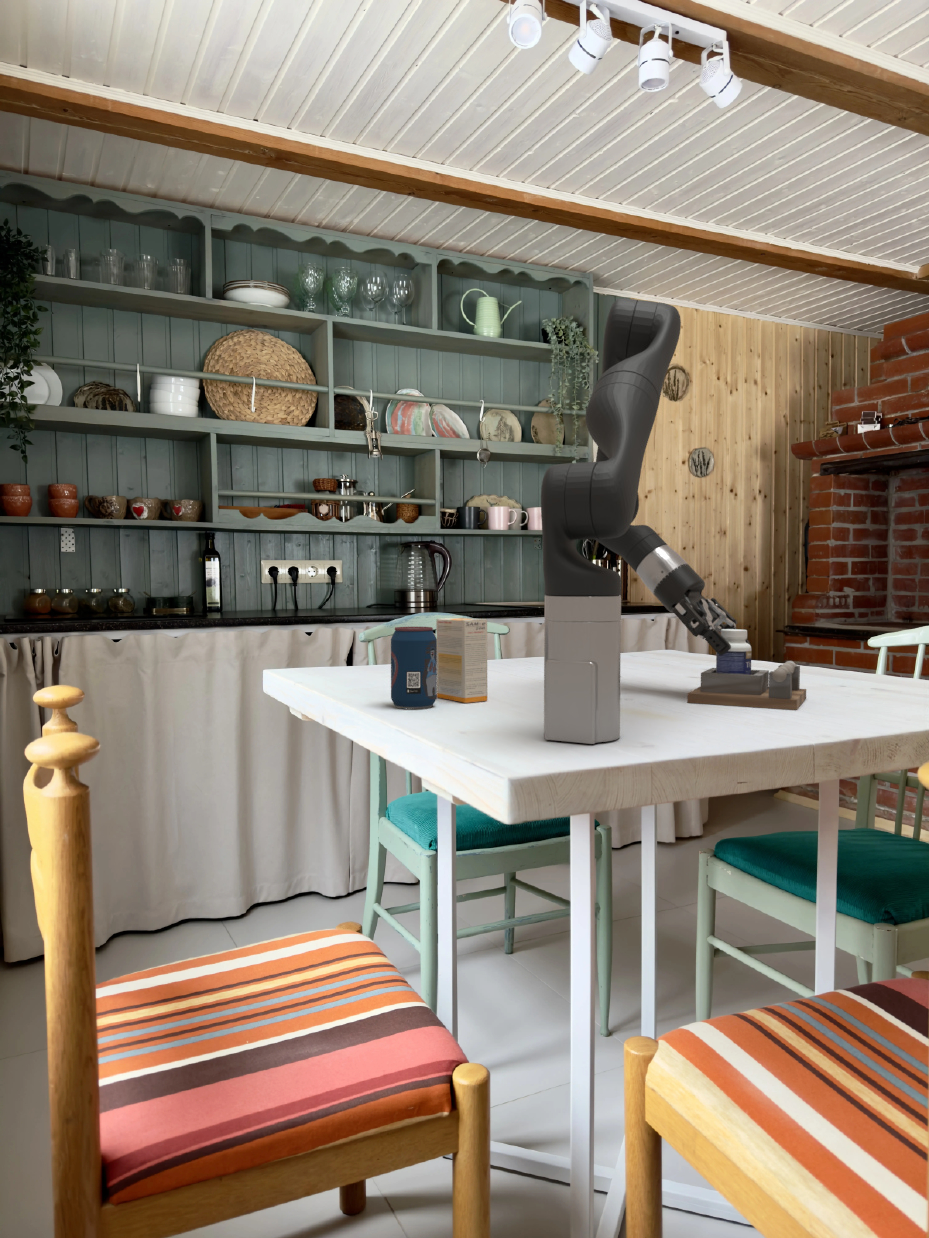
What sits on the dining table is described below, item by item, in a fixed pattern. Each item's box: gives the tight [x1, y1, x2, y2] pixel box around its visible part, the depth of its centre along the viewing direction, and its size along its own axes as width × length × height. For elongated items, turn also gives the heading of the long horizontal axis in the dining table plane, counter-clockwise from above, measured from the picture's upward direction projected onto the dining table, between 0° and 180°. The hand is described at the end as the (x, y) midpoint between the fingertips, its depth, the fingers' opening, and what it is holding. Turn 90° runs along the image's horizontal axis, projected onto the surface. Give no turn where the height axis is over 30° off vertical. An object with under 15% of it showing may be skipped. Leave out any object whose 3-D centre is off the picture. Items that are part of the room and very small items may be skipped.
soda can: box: [390, 626, 437, 710], centre depth 128 cm, size 7×7×12 cm
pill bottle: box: [715, 628, 752, 675], centre depth 135 cm, size 5×5×10 cm
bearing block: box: [686, 660, 807, 711], centre depth 134 cm, size 14×16×6 cm
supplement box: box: [435, 617, 488, 704], centre depth 135 cm, size 8×5×13 cm, turn 35°
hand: (736, 650), depth 135 cm, fingers open, 8 cm apart
